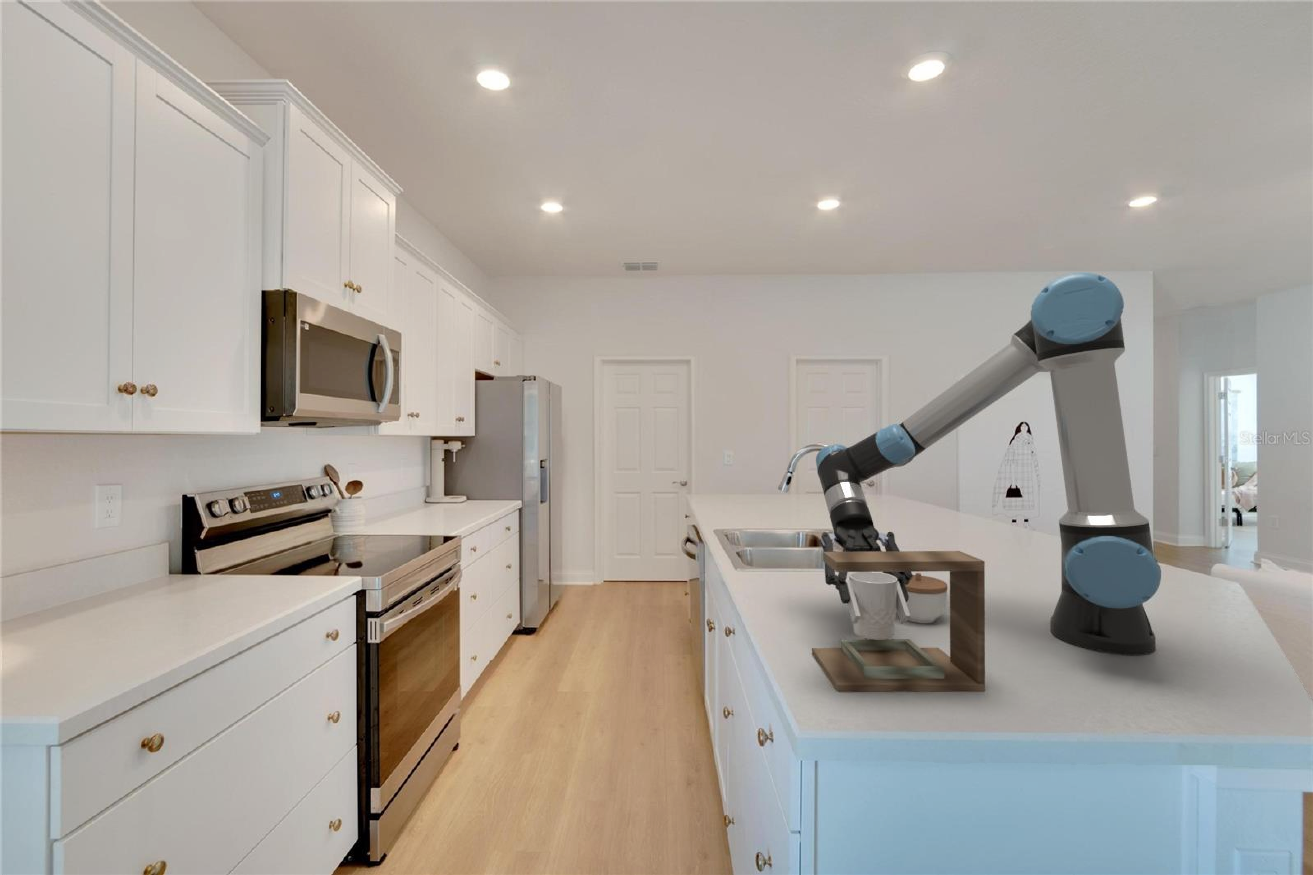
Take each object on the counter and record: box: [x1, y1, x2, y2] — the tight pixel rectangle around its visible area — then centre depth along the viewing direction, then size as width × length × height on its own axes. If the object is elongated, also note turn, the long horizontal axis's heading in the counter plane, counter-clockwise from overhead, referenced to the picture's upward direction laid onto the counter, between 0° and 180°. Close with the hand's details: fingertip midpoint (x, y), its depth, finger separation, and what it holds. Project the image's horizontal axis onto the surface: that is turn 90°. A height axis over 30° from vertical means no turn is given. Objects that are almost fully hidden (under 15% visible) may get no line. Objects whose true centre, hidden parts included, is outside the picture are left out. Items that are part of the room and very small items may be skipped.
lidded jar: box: [905, 572, 948, 624], centre depth 114 cm, size 11×11×9 cm
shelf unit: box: [811, 550, 986, 693], centre depth 89 cm, size 22×14×20 cm, turn 89°
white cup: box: [848, 572, 897, 640], centre depth 96 cm, size 8×8×10 cm
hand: (881, 619), depth 93 cm, fingers closed on white cup, 8 cm apart
